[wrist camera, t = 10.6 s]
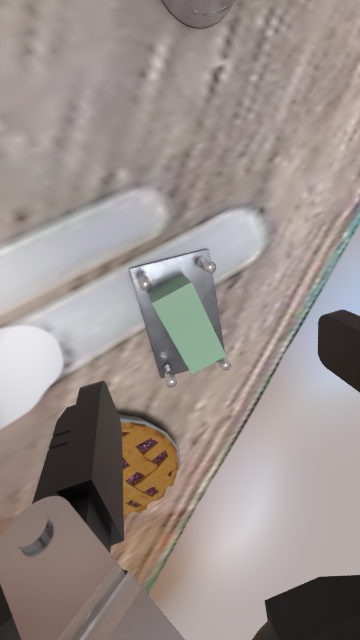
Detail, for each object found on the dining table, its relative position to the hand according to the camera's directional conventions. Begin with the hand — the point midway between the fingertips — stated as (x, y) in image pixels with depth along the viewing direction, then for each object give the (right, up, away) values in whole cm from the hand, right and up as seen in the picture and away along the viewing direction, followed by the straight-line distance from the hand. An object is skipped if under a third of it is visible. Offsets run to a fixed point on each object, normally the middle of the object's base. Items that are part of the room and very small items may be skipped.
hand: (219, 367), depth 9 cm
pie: (-13, -23, +38) cm, 46 cm away
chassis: (-1, +2, +30) cm, 30 cm away
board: (-1, +2, +29) cm, 29 cm away
